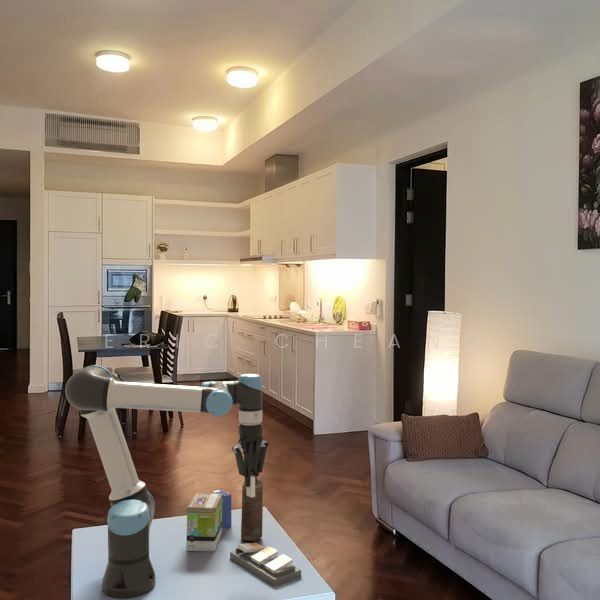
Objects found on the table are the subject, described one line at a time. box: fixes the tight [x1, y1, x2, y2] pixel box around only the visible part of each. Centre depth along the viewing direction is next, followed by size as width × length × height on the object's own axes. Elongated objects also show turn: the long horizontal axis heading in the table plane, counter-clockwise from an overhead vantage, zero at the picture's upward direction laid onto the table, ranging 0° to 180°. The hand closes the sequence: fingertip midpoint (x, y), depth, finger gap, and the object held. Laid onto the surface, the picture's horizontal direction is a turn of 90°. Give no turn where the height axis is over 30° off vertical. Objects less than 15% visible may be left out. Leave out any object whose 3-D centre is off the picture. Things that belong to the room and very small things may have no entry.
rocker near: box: [265, 553, 294, 574], centre depth 191 cm, size 7×5×1 cm, turn 129°
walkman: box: [211, 489, 233, 529], centre depth 232 cm, size 8×3×12 cm, turn 46°
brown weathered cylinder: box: [240, 478, 264, 542], centre depth 218 cm, size 8×7×20 cm
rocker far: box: [237, 542, 265, 553], centre depth 203 cm, size 7×5×1 cm, turn 129°
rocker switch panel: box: [229, 547, 302, 587], centre depth 197 cm, size 10×24×3 cm, turn 39°
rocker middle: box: [251, 546, 279, 565], centre depth 197 cm, size 7×5×1 cm, turn 129°
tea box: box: [185, 492, 223, 552], centre depth 216 cm, size 15×10×15 cm
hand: (250, 495), depth 202 cm, fingers closed
